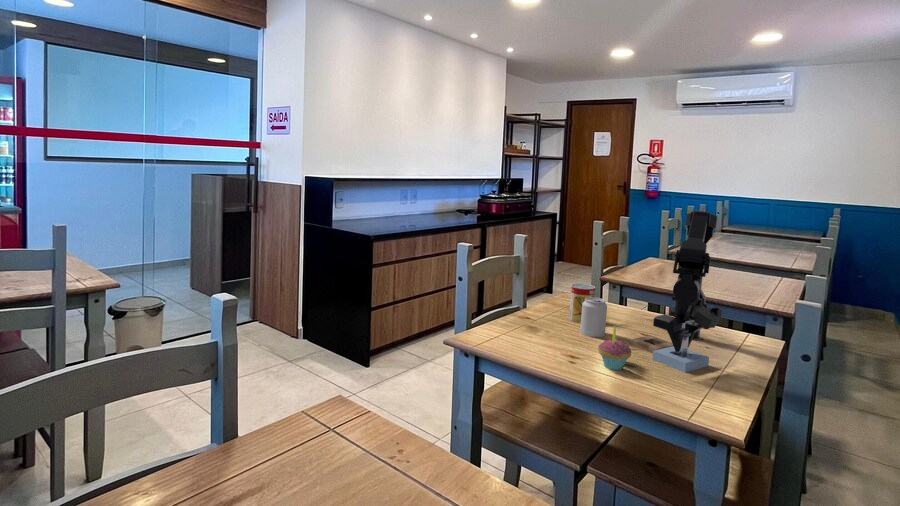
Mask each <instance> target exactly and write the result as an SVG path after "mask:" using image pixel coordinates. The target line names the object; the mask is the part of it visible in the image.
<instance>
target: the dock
mask: <svg viewBox="0 0 900 506" xmlns="http://www.w3.org/2000/svg"><path fill="white" fill-rule="evenodd" d="M652 361H655V362H657V363H659V364H662V365H665V366H667V367H670V368H672V369H675V370H677V371H680V372H682V373H688V372H692V371H696V370H699V369H702V368H706V367H709V363H710V356H708V355H704V354H702V353H699V352H697V351H694V350H690V349H689V348H688V349H687V357H684V358H682V357H679V356H677V355H675V349H674V346H672V347H668V348H663V349H659V350H654V351H653V353H652Z"/></svg>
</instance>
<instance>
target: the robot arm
mask: <svg viewBox="0 0 900 506" xmlns="http://www.w3.org/2000/svg"><path fill="white" fill-rule="evenodd" d="M717 226H718V216H717V215H715V214H712V213H711V212H709V211H705V210H704V211H703V210H694V211H690V212H688V213H686V214H685V222H684V228H685V229H687V230H686V235H687V238H686V240H684V241H682V242H681V243H680V246H679V249H676V253H675V256H674V257H675V259H674V264H673V269H672V274H677V280H676V281H675V284H674V285H673V287H672V292H673V293H672V294H673V295H672V296H671V301H675V302H674V309H673V310H670V312H669V313H670V315H669V314H661V315H660V314H659V315H656V316H655V317H654V318H653V323H652V325H653V327H654V328H655V327H656V328H658V329H661V330H664V331H666V332H667V334H668V335H669V338H670V342H671V343H673V346H674V349H675V351H677V352H679V351H680V348H681V344H682V340H683V335H684V333H686V332H687V331H690V332H691V336H689V341H688V348H689V347H690V345H691V344H692V341H693V339H694V340H695V339H698V340H701V341H704V339H705V338H704V337H701V336H700V334H701V329H703V330H709V329H714V328H716V326H717V324H718V323H719V322H722V320H723V319H722V317H723V316H722V315H723V312H722V310H723V309H721V308H720V307H718V306H716V307H712V308H710V307H708V303H706V298H707V297H706V295H705V294H704V291H703V289H702V285H703V278H704V277H706V276H707V274H710V273H709V272H710V265H711V256H710V253H709V252H707V248H708V245H707V244H708V243H709V242H710V240H711V239H712V237H713V235H714V231H717Z"/></svg>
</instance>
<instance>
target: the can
mask: <svg viewBox="0 0 900 506" xmlns="http://www.w3.org/2000/svg"><path fill="white" fill-rule="evenodd" d="M606 302H607V301H606V300H605V299H603V298H600V297H595V296H594V297H589V298H585V301H584V302H583V303H582V314H581V323H580V327H579V328H580V331H579V333H580V334H581V335H583V336H586V337H591V338H602V337H605V334H606V325H607V323H606V322H607V313H608V304H607V303H606Z"/></svg>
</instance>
